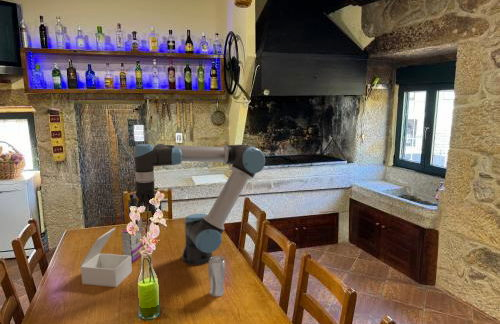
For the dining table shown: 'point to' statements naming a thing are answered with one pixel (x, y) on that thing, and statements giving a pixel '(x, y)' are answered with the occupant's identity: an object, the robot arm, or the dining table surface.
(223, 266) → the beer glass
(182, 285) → the dining table surface
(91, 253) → the mailer lid
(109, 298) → the dining table surface
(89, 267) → the mailer box
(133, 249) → the candy bar box
